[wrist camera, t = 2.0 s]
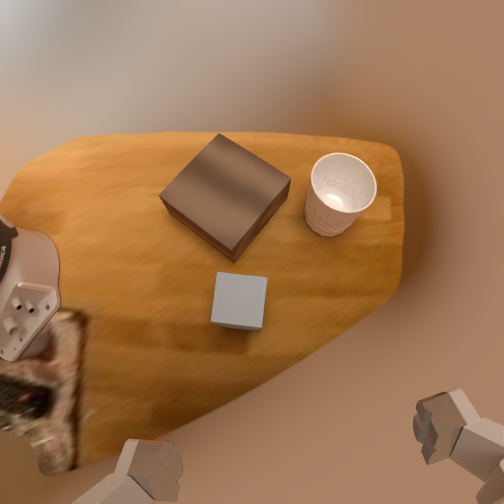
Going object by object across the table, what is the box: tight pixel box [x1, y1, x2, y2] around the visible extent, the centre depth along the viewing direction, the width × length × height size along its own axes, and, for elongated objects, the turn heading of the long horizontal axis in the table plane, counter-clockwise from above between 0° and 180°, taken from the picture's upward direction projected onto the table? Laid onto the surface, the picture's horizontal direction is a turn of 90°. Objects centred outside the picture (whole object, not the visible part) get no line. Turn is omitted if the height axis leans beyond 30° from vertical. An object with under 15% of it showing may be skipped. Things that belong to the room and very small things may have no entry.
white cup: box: [304, 153, 377, 237], centre depth 40 cm, size 8×8×10 cm
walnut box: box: [159, 134, 291, 263], centre depth 42 cm, size 12×12×6 cm
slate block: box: [211, 272, 267, 331], centre depth 36 cm, size 5×5×10 cm
